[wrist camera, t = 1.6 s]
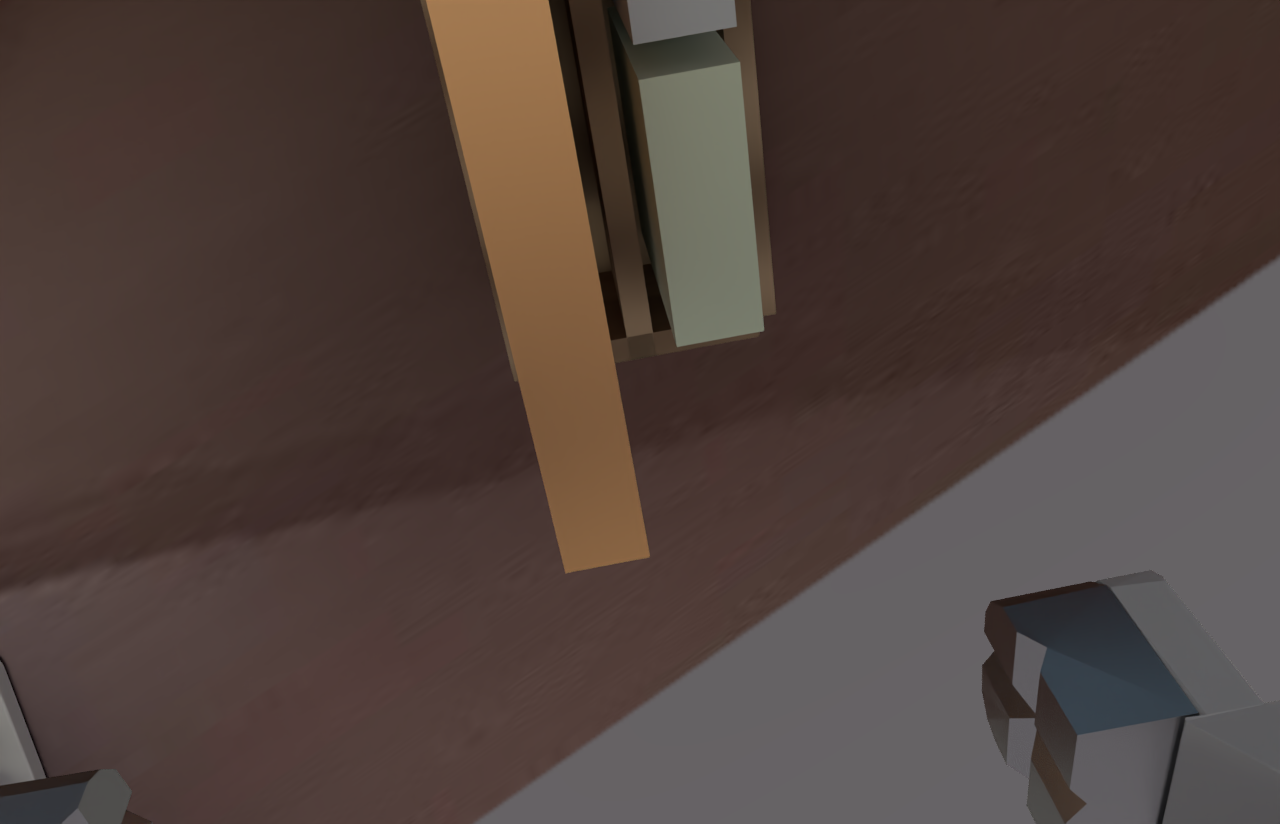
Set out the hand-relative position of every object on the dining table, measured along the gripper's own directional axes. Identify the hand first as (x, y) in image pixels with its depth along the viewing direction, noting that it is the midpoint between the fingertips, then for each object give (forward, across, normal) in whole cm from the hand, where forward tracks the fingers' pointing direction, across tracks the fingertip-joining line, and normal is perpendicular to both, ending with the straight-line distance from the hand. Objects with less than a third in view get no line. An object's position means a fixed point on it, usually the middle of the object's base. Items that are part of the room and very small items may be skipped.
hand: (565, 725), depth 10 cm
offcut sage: (+34, +5, -6) cm, 35 cm away
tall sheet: (+34, 0, -1) cm, 34 cm away
